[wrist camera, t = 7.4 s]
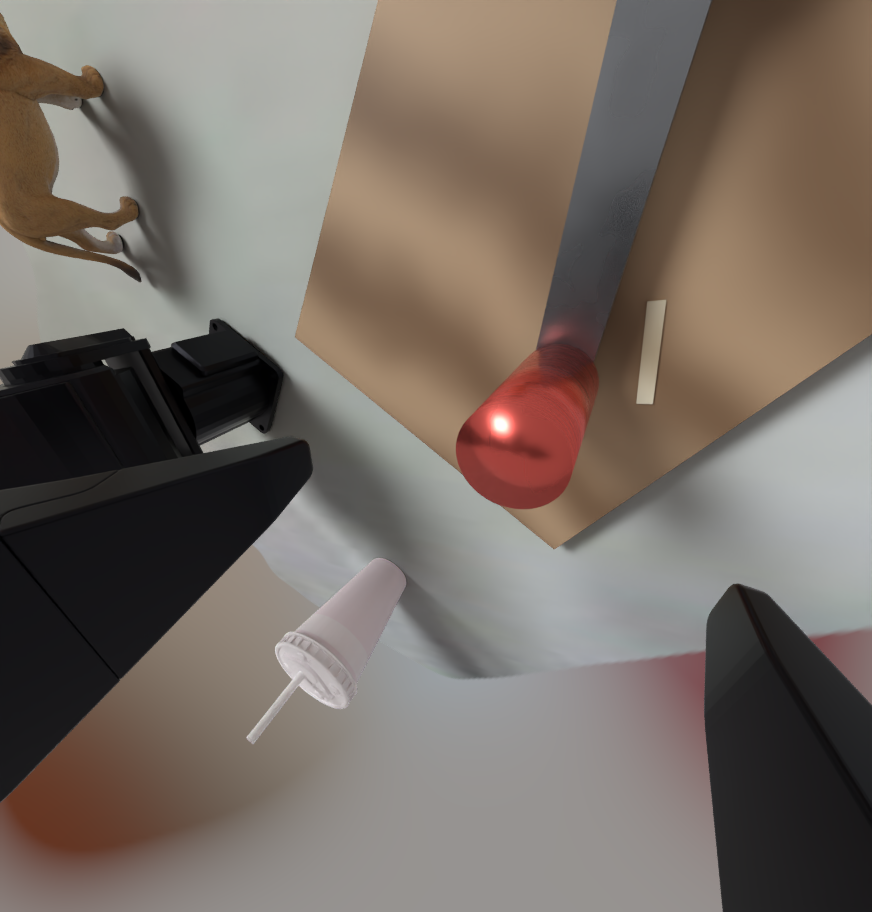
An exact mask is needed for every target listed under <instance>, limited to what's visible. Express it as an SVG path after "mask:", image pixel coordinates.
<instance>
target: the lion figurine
mask: <svg viewBox="0 0 872 912" xmlns="http://www.w3.org/2000/svg"><path fill="white" fill-rule="evenodd" d="M81 70H82V76H75V75H73V74H70V73H68V72H66V71H64V70H62V69H60V68H58V67H56V66H54V65H52V64H50V63H47V62H45V61H42V60H40V59H37V58H33V57H30V56H27V55H25V54H23V53H22V51H21V49H20V47H19V45H18V44H17V42H16V41H15V40H14V38H13V37H12V35H11V34H10V32H9V29H8V27H7V25H6V22H5V20H4V17H3V16H2V14H1V13H0V225H1V226H2V227H3V228H4V229H5V230H6V231H7V232H9V233H10V234H11V235H13V236H14V237H16V238H17V239H19V240H20V241H22V242H24V243H26V244H28V245H30V246H32V247H35V248H37V249H40V250H43V251H46V252H50V253H54V254H58V255H63V256H68V257H73V258H80V259H85V260H91V261H97V262H102V263H107V264H110V265H112V266H115V267H117V268H119V269H121V270H122V271H124V272H125V273H126V274H127V275H129V276H130V277H132V278H134V279H135V280H137V281H138V282H141V277H140V274H139V272H138V271H137V270H136V269H134V268H133V267H132V266H130V265H128V264H126V263H125V262H123V261H120V260H117V259H114V258H111V257H108V256H105V255H101V254H97V253H93V252H100V253H108V254H117V253H120V252H121V251H122V250H123V245H122V241H121V238H120V237H119V235H118V234H117V233H115V232H108V233H107V235H106V237H107V240H106V241H100V240H98V239H96V238H95V237H93V236H92V235H90V234H89V233H88V232H87V231H86V230H85V228H89V227H100V228H104V229H107V230H115V229H117V228H119V227H120V226H122V225H123V224H125V223H128V222H130V221H133V220H135V219H136V218H137V217H138V207H137V204H136V202H135V201H134V200H133V199H132V198H130V197H121V198H120V209H119V210H117V211H115V212H112V213H103V212H99V211H96V210H94V209H91V208H89V207H86V206H84V205H81V204H78V203H76V202H73V201H70V200H66V199H61V198H58V197H55V196H54V195H52V188H53V185H54V182H55V180H56V177H57V175H58V171H59V156H58V149H57V145H56V142H55V139H54V136H53V133H52V131H51V129H50V126H49V124H48V122H47V120H46V118H45V116H44V113H43V111H42V109H41V108H40V105H39V103H47V104H53V105H57V106H60V107H63V108H66V109H69V110H73V109H74V108H79V107H80V106H81V105H82V99H90V98H96V97H100V96H101V94H102V92H103V88H104V85H103V81H102V78H101V76H100V74H99V73H98V72H97V71H96V69H94V68H93V67H91V66H84V67H82V68H81ZM81 98H82V99H81ZM53 236H61V237H64V238H66V239H69V240H71V241H73V242H75V243H76V244H78V245H79V246H80V247H81V248H83V249H84V250H80V249H76V248H73V247H69V246H65V245H61V244H57V243H54V242H50V241H47V240H46V237H53ZM85 250H87V251H85ZM89 251H92V252H89Z"/></svg>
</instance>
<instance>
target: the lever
mask: <svg viewBox="0 0 872 912" xmlns="http://www.w3.org/2000/svg"><path fill="white" fill-rule="evenodd" d="M712 1H713V0H617V1H616V6H615V10H614V14H613V19H612V23H611V27H610V32H609V36H608V40H607V45H606V49H605V53H604V58H603V62H602V66H601V70H600V75H599V79H598V83H597V88H596V92H595V96H594V101H593V105H592V109H591V114H590V118H589V122H588V127H587V131H586V135H585V140H584V144H583V148H582V153H581V157H580V161H579V165H578V170H577V174H576V178H575V183H574V187H573V191H572V196H571V200H570V204H569V209H568V213H567V217H566V222H565V226H564V230H563V235H562V239H561V243H560V248H559V252H558V256H557V260H556V265H555V269H554V273H553V278H552V282H551V286H550V291H549V295H548V299H547V304H546V308H545V312H544V317H543V321H542V325H541V330H540V334H539V338H538V343H537V347H536V350H535V351H534V352H533V353H531V354H530V355H529V356H528V357H527V358H526V359H525V360H524V361H523V362H522V363H521V364H520V365H519V366H518V367H517V368H516V369H515V370H514V371H513V372H512V373H511V374H510V376H509V377H508V378H507V379H506V380H505V381H504V382H503V383H502V384H501V385H500V386H499V387H498V388H497V389H496V390H495V391H494V392H493V393H492V394H491V395H490V396H489V397H488V398H487V399H486V400H485V401H484V403H483V404H482V405H481V406H480V407H479V408H478V409H477V410H476V411H475V412H474V413H473V414H472V415H471V416H470V417H469V418H468V419H467V420H466V421H465V423H464V424H463V425H462V427H461V429H460V431H459V433H458V436H457V441H456V457H457V462H458V465H459V468H460V470H461V472H462V474H463V475H464V477H465V479H466V480H467V481H468V483H469V484H470V485H471V486H472V487H473V488H474V489H475V490H476V491H477V492H478V493H479V494H481V495H482V496H483V497H485V498H486V499H488V500H490V501H492V502H494V503H496V504H498V505H501V506H504V507H508V508H513V509H533V508H538V507H542V506H544V505H547V504H549V503H551V502H552V501H554V500H555V499H557V498H558V497H559V496H560V495H561V494H562V493H563V492H564V490H565V489H566V487H567V486H568V483H569V481H570V479H571V475H572V472H573V469H574V466H575V463H576V460H577V456H578V453H579V450H580V447H581V444H582V441H583V437H584V434H585V431H586V428H587V425H588V421H589V418H590V415H591V412H592V409H593V406H594V402H595V399H596V396H597V393H598V389H599V376H598V372H597V369H596V367H595V365H594V361H595V358H596V355H597V352H598V349H599V346H600V343H601V340H602V337H603V334H604V331H605V328H606V325H607V322H608V319H609V316H610V312H611V309H612V306H613V303H614V300H615V297H616V294H617V291H618V288H619V285H620V282H621V279H622V276H623V273H624V270H625V267H626V264H627V261H628V258H629V255H630V251H631V248H632V245H633V242H634V239H635V236H636V233H637V230H638V227H639V224H640V221H641V218H642V215H643V212H644V209H645V206H646V203H647V200H648V197H649V194H650V190H651V187H652V184H653V181H654V178H655V175H656V172H657V169H658V166H659V163H660V160H661V157H662V154H663V151H664V148H665V145H666V142H667V139H668V136H669V132H670V129H671V126H672V123H673V120H674V117H675V114H676V111H677V108H678V105H679V102H680V99H681V96H682V93H683V90H684V87H685V84H686V81H687V78H688V75H689V71H690V68H691V65H692V62H693V59H694V56H695V53H696V50H697V47H698V44H699V41H700V38H701V35H702V32H703V29H704V26H705V23H706V20H707V17H708V14H709V10H710V7H711V4H712Z"/></svg>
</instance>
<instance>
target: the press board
mask: <svg viewBox="0 0 872 912" xmlns="http://www.w3.org/2000/svg"><path fill="white" fill-rule="evenodd" d="M616 1H617V0H378V3H377V7H376V11H375V15H374V19H373V23H372V27H371V31H370V35H369V39H368V43H367V47H366V52H365V56H364V60H363V64H362V68H361V72H360V76H359V80H358V84H357V88H356V92H355V96H354V100H353V104H352V108H351V112H350V116H349V120H348V124H347V128H346V132H345V136H344V140H343V144H342V149H341V153H340V157H339V161H338V165H337V169H336V173H335V177H334V181H333V185H332V189H331V193H330V197H329V201H328V205H327V209H326V213H325V217H324V221H323V225H322V229H321V233H320V237H319V241H318V245H317V250H316V254H315V258H314V262H313V266H312V270H311V274H310V278H309V282H308V286H307V290H306V294H305V298H304V302H303V306H302V310H301V314H300V318H299V322H298V326H297V330H296V334H295V338H297V339H298V340H299V341H300V342H301V343H303V344H304V345H305V346H306V347H308V348H309V349H310V350H311V351H312V352H314V353H315V354H316V355H317V356H319V357H320V358H321V359H322V360H323V361H325V362H326V363H327V364H328V365H330V366H331V367H332V368H333V369H334V370H336V371H337V372H338V373H339V374H341V375H342V376H343V377H344V378H345V379H347V380H348V381H349V382H350V383H352V384H353V385H354V386H355V387H356V388H358V389H359V390H360V391H361V392H363V393H364V394H365V395H366V396H367V397H369V398H370V399H371V400H372V401H373V402H375V403H376V404H377V405H378V406H380V407H381V408H382V409H383V410H384V411H386V412H387V413H388V414H389V415H391V416H392V417H393V418H394V419H395V420H397V421H398V422H399V423H400V424H402V425H403V426H404V427H405V428H406V429H408V430H409V431H410V432H411V433H413V434H414V435H415V436H416V437H417V438H419V439H420V440H421V441H422V442H424V443H425V444H426V445H427V446H428V447H430V448H431V449H432V450H433V451H435V452H436V453H437V454H438V455H439V456H441V457H442V458H443V459H444V460H446V461H447V462H448V463H449V464H450V465H452V466H453V467H454V468H455V469H457V470H458V471H459V472H460V473H461V474H462V472H461V470H460V468H459V465H458V462H457V457H456V441H457V436H458V433H459V431H460V429H461V427H462V425H463V424H464V423H465V421H466V420H467V419H468V418H469V417H470V416H471V415H472V414H473V413H474V412H475V411H476V410H477V409H478V408H479V407H480V406H481V405H482V404H483V403H484V401H485V400H486V399H487V398H488V397H489V396H490V395H491V394H492V393H493V392H494V391H495V390H496V389H497V388H498V387H499V386H500V385H501V384H502V383H503V382H504V381H505V380H506V379H507V378H508V377H509V376H510V374H511V373H512V372H513V371H514V370H515V369H516V368H517V367H518V366H519V365H520V364H521V363H522V362H523V361H524V360H525V359H526V358H527V357H528V356H529V355H530V354H531V353H533V352H534V351H535V350H536V347H537V343H538V338H539V334H540V330H541V325H542V321H543V317H544V312H545V308H546V304H547V299H548V295H549V291H550V286H551V282H552V278H553V273H554V269H555V265H556V260H557V256H558V252H559V248H560V243H561V239H562V235H563V230H564V226H565V222H566V217H567V213H568V209H569V204H570V200H571V196H572V191H573V187H574V183H575V178H576V174H577V170H578V165H579V161H580V157H581V153H582V148H583V144H584V140H585V135H586V131H587V127H588V122H589V118H590V114H591V109H592V105H593V101H594V96H595V92H596V88H597V83H598V79H599V75H600V70H601V66H602V62H603V58H604V53H605V49H606V45H607V40H608V36H609V32H610V27H611V23H612V19H613V14H614V10H615V6H616ZM871 334H872V0H713V1H712V4H711V7H710V10H709V14H708V17H707V20H706V23H705V26H704V29H703V32H702V35H701V38H700V41H699V44H698V47H697V50H696V53H695V56H694V59H693V62H692V65H691V68H690V71H689V75H688V78H687V81H686V84H685V87H684V90H683V93H682V96H681V99H680V102H679V105H678V108H677V111H676V114H675V117H674V120H673V123H672V126H671V129H670V132H669V136H668V139H667V142H666V145H665V148H664V151H663V154H662V157H661V160H660V163H659V166H658V169H657V172H656V175H655V178H654V181H653V184H652V187H651V190H650V194H649V197H648V200H647V203H646V206H645V209H644V212H643V215H642V218H641V221H640V224H639V227H638V230H637V233H636V236H635V239H634V242H633V245H632V248H631V251H630V255H629V258H628V261H627V264H626V267H625V270H624V273H623V276H622V279H621V282H620V285H619V288H618V291H617V294H616V297H615V300H614V303H613V306H612V309H611V312H610V316H609V319H608V322H607V325H606V328H605V331H604V334H603V337H602V340H601V343H600V346H599V349H598V352H597V355H596V358H595V361H594V365H595V367H596V369H597V372H598V376H599V389H598V393H597V396H596V399H595V402H594V406H593V409H592V412H591V415H590V418H589V421H588V425H587V428H586V431H585V434H584V437H583V441H582V444H581V447H580V450H579V453H578V456H577V460H576V463H575V466H574V469H573V472H572V475H571V479H570V481H569V483H568V486H567V487H566V489H565V490H564V492H563V493H562V494H561V495H560V496H559V497H558V498H557V499H555V500H554V501H552V502H551V503H549V504H547V505H544V506H542V507H538V508H533V509H513V508H508V507H504V506H502V507H503V508H504V509H505V510H507V511H508V512H509V513H510V514H511V515H513V516H514V517H515V518H516V519H518V520H519V521H520V522H521V523H522V524H524V525H525V526H526V527H527V528H529V529H530V530H531V531H532V532H533V533H535V534H536V535H537V536H538V537H540V538H541V539H542V540H543V541H544V542H546V543H547V544H548V545H549V546H551V547H552V548H553V549H556V548H557V547H559V546H560V545H561V544H563V543H564V542H566V541H567V540H569V539H570V538H572V537H573V536H575V535H576V534H578V533H579V532H581V531H582V530H584V529H585V528H587V527H588V526H589V525H591V524H592V523H594V522H595V521H597V520H598V519H600V518H601V517H603V516H604V515H606V514H607V513H609V512H610V511H612V510H613V509H615V508H616V507H618V506H619V505H620V504H622V503H623V502H625V501H626V500H628V499H629V498H631V497H632V496H634V495H635V494H637V493H638V492H640V491H641V490H643V489H644V488H646V487H647V486H648V485H650V484H651V483H653V482H654V481H656V480H657V479H659V478H660V477H662V476H663V475H665V474H666V473H668V472H669V471H671V470H672V469H674V468H675V467H677V466H678V465H679V464H681V463H682V462H684V461H685V460H687V459H688V458H690V457H691V456H693V455H694V454H696V453H697V452H699V451H700V450H702V449H703V448H705V447H706V446H707V445H709V444H710V443H712V442H713V441H715V440H716V439H718V438H719V437H721V436H722V435H724V434H725V433H727V432H728V431H730V430H731V429H733V428H734V427H735V426H737V425H738V424H740V423H741V422H743V421H744V420H746V419H747V418H749V417H750V416H752V415H753V414H755V413H756V412H758V411H759V410H761V409H762V408H764V407H765V406H766V405H768V404H769V403H771V402H772V401H774V400H775V399H777V398H778V397H780V396H781V395H783V394H784V393H786V392H787V391H789V390H790V389H792V388H793V387H794V386H796V385H797V384H799V383H800V382H802V381H803V380H805V379H806V378H808V377H809V376H811V375H812V374H814V373H815V372H817V371H818V370H820V369H821V368H823V367H824V366H825V365H827V364H828V363H830V362H831V361H833V360H834V359H836V358H837V357H839V356H840V355H842V354H843V353H845V352H846V351H848V350H849V349H851V348H852V347H853V346H855V345H856V344H858V343H859V342H861V341H862V340H864V339H865V338H867V337H868V336H870V335H871ZM500 506H501V505H500Z"/></svg>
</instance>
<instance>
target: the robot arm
mask: <svg viewBox="0 0 872 912" xmlns="http://www.w3.org/2000/svg"><path fill="white" fill-rule="evenodd" d="M150 348H151V346H150V344H149V342H148V341H147V339H146V338H145V339H139V340H135V338H134V336H133V337H132V336H131V335H130V334H129V333H128V332H127V331H126V330H125V329H124V328H123V329H117V330H112V331H107V332H101V333H96V334H90V335H85V336H79V337H73V338H68V339H62V340H56V341H51V342H45V343H39V344H35V345H29V346H28V347H27V349H26V351H25V353H24V355H23V357H22V358H21V360H16V361H12V363H13V364H14V366H10V367H5V368H1V369H0V379H1V380H2V381H3V383H4V384H1V385H0V802H1V801H3V800H4V799H5V798H6V797H7V796H8V795H9V794H10V793H11V792H12V791H13V790H14V789H15V788H16V787H17V786H18V785H19V784H20V783H21V782H22V781H23V780H24V779H25V778H26V777H27V776H28V775H29V774H30V773H31V772H32V771H33V770H34V769H35V768H36V767H37V766H38V765H39V764H40V763H41V762H42V760H43V759H44V758H46V756H47V755H48V754H49V753H50V752H51V751H52V750H53V749H54V748H55V747H56V746H57V745H58V744H59V743H60V742H61V741H62V740H63V739H64V738H65V737H66V736H67V735H68V734H69V733H70V732H71V731H72V730H73V729H74V728H75V727H76V726H77V725H78V724H79V722H80V721H81V720H82V719H83V718H84V717H85V716H86V715H87V714H88V713H89V712H90V711H91V710H92V709H93V708H94V707H95V706H96V705H97V704H98V703H99V702H100V701H101V700H102V699H103V698H104V697H105V696H106V695H107V694H108V692H109V691H111V689H112V688H113V687H114V686H115V685H116V684H117V683H118V682H119V681H120V679H121V678H122V677H124V675H126V674H127V673H128V672H129V670H131V668H132V667H133V666H134V665H135V664H136V663H137V662H138V661H139V660H140V659H141V658H142V657H143V656H144V655H145V654H146V653H147V652H148V651H149V650H150V649H151V648H152V647H153V646H154V644H156V643H157V642H158V641H159V640H160V639H161V638H162V636H163V635H164V634H165V633H166V632H167V631H168V630H169V629H170V628H171V627H172V626H173V625H174V624H175V623H176V622H177V621H178V620H179V619H180V618H181V617H182V616H183V615H184V614H185V613H186V612H187V611H188V610H189V609H190V608H191V607H192V606H193V605H194V604H195V603H196V602H197V601H198V600H199V598H201V596H202V595H203V594H204V593H205V592H206V591H207V590H208V589H209V588H210V587H211V586H212V585H213V584H214V583H215V582H216V581H217V580H218V579H219V578H220V577H221V576H222V575H223V574H224V573H225V572H226V571H227V570H228V569H229V568H230V567H231V566H232V565H233V564H234V562H236V560H237V559H238V558H239V557H240V556H241V555H242V554H243V553H244V552H245V551H246V550H247V549H248V548H249V547H250V546H251V545H252V544H253V543H254V542H255V541H256V540H257V539H258V538H259V537H260V536H261V535H262V534H263V533H264V532H265V531H266V530H267V529H268V528H269V526H270V525H271V524H272V523H273V522H274V521H275V520H276V519H277V517H278V516H279V515H280V514H281V513H282V511H283V510H284V509H285V508H286V506H287V505H288V504H289V503H290V501H291V500H292V499H293V498H294V497H295V495H296V494H297V493H298V492H299V490H300V489H301V488H302V487H303V485H304V484H305V483H306V482H307V480H308V479H309V478H310V476H311V474H312V471H313V465H312V459H311V453H310V447H309V444H308V443H307V441H305V440H303V439H300V438H297V437H292V436H291V437H285V438H280V439H275V440H270V441H264V442H259V443H254V444H249V445H244V446H239V447H234V448H228V449H223V450H218V451H213V452H208V453H203V451H202V449H201V448H200V445H202V444H204V443H206V442H208V441H210V440H212V439H215V438H217V437H219V436H221V435H223V434H225V433H227V432H229V431H231V430H233V429H235V428H238V427H240V426H242V425H244V424H246V423H248V422H250V423H251V424H252V425H253V426H254V427H256V428H257V429H258V430H259V431H260V432H262V433H267V432H268V431H270V429H271V425H272V421H273V417H274V413H275V408H276V404H277V400H278V396H279V392H280V388H281V384H282V380H283V374H282V371H281V370H280V369H279V368H278V367H277V366H276V365H275V364H273V363H272V362H271V361H270V360H269V359H267V358H266V357H265V356H264V355H263V354H261V353H260V352H259V351H258V350H257V349H255V348H254V347H253V346H252V345H250V344H249V343H248V342H247V341H246V340H244V339H243V338H242V337H241V336H240V335H238V334H237V333H236V332H235V331H234V330H232V329H231V328H230V327H229V326H228V325H226V324H225V323H224V322H223V321H222V320H220V319H212V320H210V328H209V334H208V335H204V336H199V337H195V338H191V339H187V340H182V341H178V342H174V343H172V344H171V347H170V348H166V349H162V350H158V351H153V352H151V350H150ZM104 359H105V361H106V363H107V364H108V366H109V367H108V366H106V365H104V364H103V362H102V361H101V360H104ZM705 662H706V663H705V695H704V696H705V697H704V717H705V732H706V742H707V753H708V763H709V773H710V784H711V794H712V804H713V815H714V825H715V836H716V846H717V856H718V867H719V877H720V887H721V897H722V908H723V912H872V705H871V704H870V703H869V702H868V700H867V699H866V698H865V697H864V696H863V695H862V694H861V693H860V692H859V691H858V690H857V689H856V688H855V687H854V686H853V685H852V684H851V682H850V681H849V680H847V678H846V677H845V676H844V675H843V674H842V673H841V672H840V671H839V670H838V669H837V668H836V666H835V665H834V664H833V663H832V662H831V661H830V660H829V659H828V658H827V657H826V656H825V655H824V654H823V653H822V651H821V650H820V649H819V648H818V647H817V646H816V645H815V644H814V643H813V642H812V641H811V640H810V639H809V638H808V637H807V635H806V634H805V633H804V632H803V631H802V630H801V629H800V628H799V627H798V626H797V625H796V624H795V623H794V622H793V621H792V619H791V618H790V617H789V616H788V615H787V614H786V613H785V612H784V611H783V610H782V609H781V608H780V607H779V606H778V605H777V604H776V602H775V601H774V600H773V599H772V598H771V597H770V596H769V595H768V594H766V593H765V592H762V591H760V590H757V589H754V588H751V587H748V586H745V585H742V584H733V585H731V586H730V587H729V588H728V589H727V591H726V592H725V593H724V595H723V596H722V597H721V599H720V600H719V601H718V603H717V604H716V605H715V607H714V608H713V609H712V611H711V612H710V614H709V617H708V620H707V629H706V661H705Z"/></svg>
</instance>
